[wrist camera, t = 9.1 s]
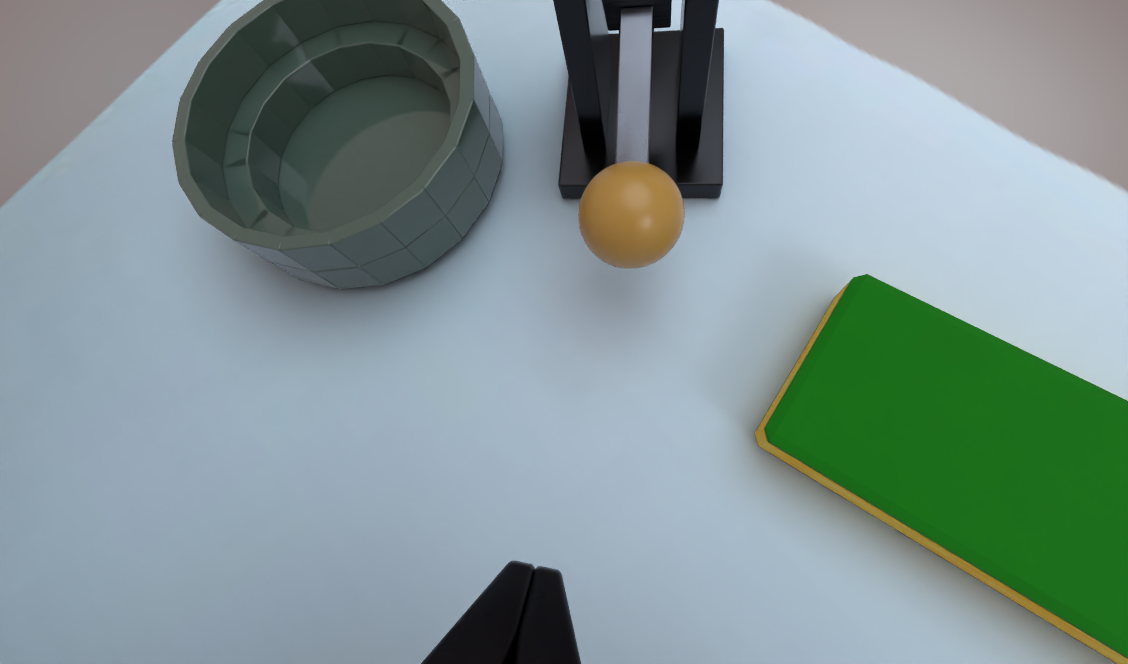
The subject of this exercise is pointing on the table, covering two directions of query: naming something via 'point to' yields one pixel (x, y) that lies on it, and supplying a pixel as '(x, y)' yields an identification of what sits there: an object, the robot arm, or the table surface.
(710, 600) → the table surface
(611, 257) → the tap lever
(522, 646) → the robot arm
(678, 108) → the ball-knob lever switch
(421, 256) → the basin
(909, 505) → the dish sponge
